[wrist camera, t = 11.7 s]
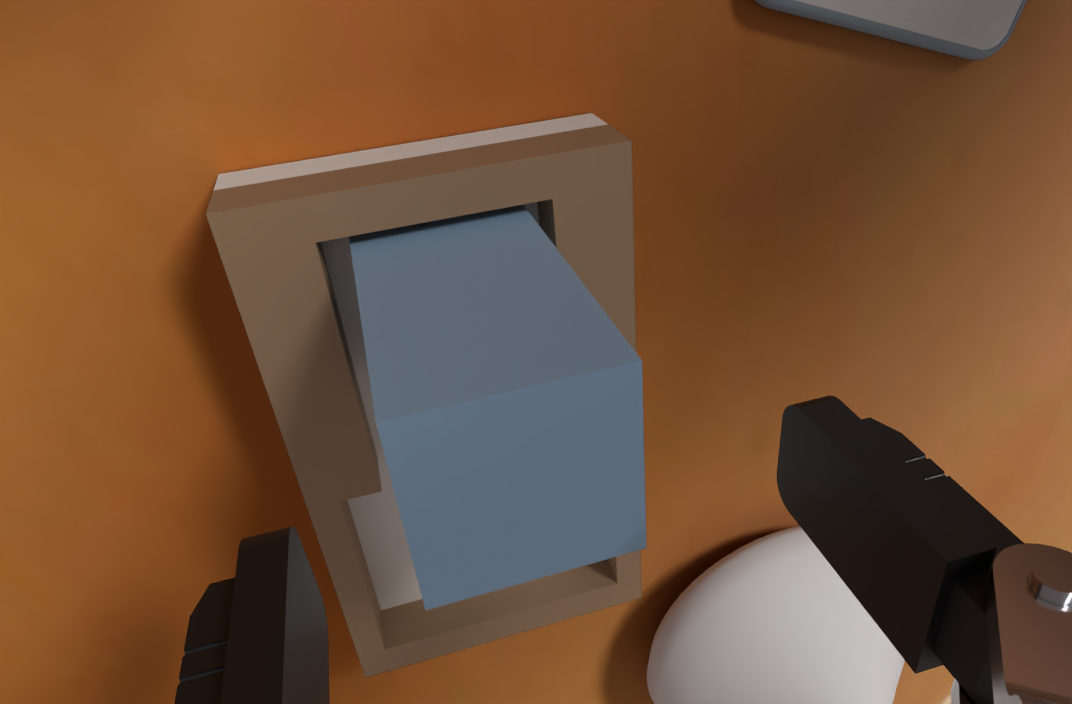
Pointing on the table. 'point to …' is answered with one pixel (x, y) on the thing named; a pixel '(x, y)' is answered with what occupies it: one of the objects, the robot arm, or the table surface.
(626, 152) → the keyhole board
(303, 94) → the table surface
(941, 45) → the smartphone
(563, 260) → the block
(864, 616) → the flower in vase
